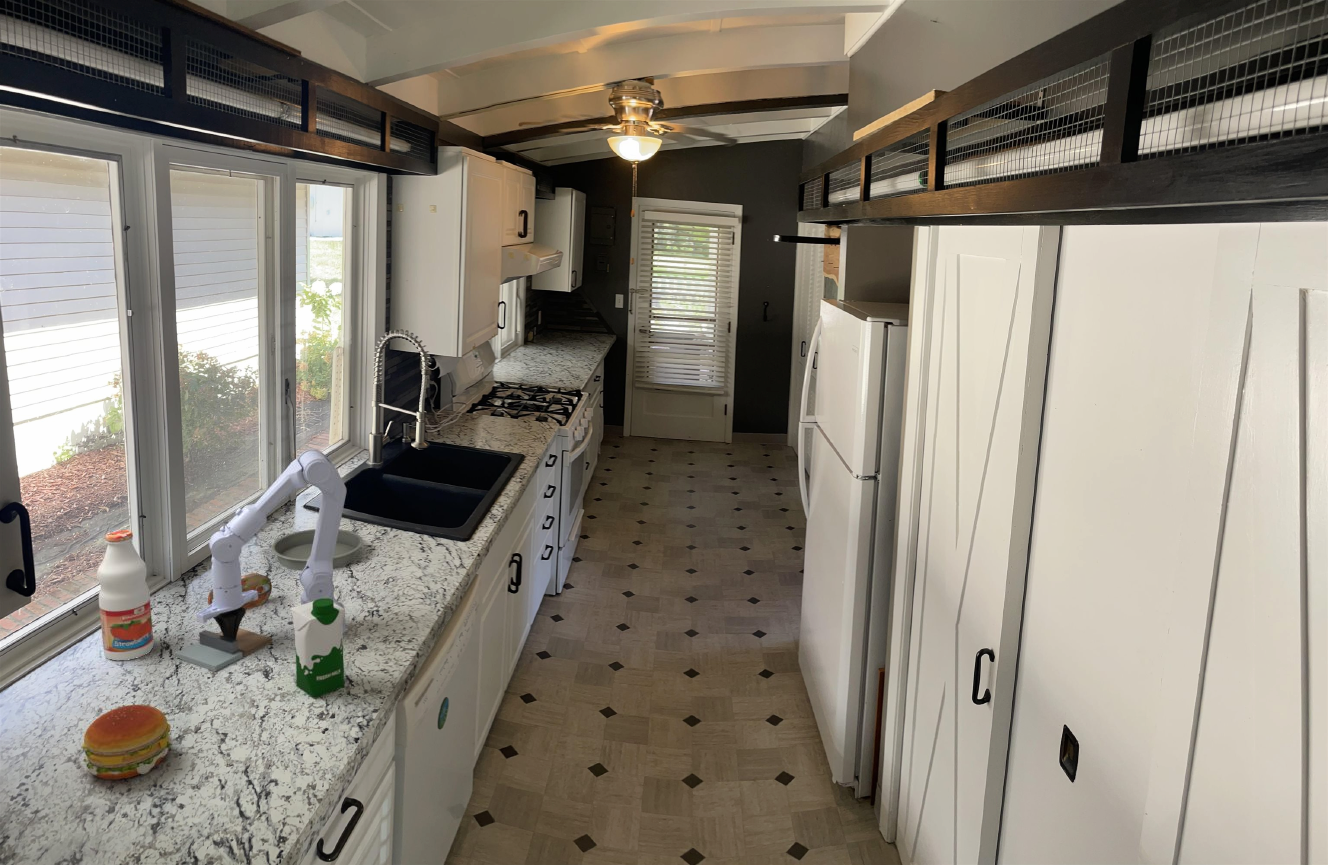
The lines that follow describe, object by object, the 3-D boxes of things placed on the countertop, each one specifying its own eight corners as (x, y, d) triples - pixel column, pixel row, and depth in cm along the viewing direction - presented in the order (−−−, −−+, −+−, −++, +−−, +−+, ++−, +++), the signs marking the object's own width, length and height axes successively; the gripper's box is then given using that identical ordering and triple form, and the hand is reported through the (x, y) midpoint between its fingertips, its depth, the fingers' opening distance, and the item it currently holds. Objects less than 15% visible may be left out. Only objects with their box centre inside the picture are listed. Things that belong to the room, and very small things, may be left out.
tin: (213, 620, 205) (211, 588, 203) (206, 616, 207) (204, 584, 205) (273, 602, 217) (271, 571, 215) (266, 598, 219) (265, 567, 217)
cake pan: (252, 565, 239) (251, 550, 238) (311, 537, 262) (311, 523, 261) (326, 580, 232) (325, 565, 231) (380, 550, 255) (380, 536, 254)
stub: (242, 657, 189) (241, 640, 188) (215, 671, 183) (214, 654, 182) (203, 644, 193) (202, 628, 192) (175, 657, 187) (174, 641, 186)
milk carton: (311, 702, 174) (308, 612, 169) (289, 685, 180) (285, 598, 175) (350, 686, 181) (348, 599, 176) (328, 670, 186) (325, 586, 182)
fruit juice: (138, 637, 195) (128, 522, 188) (163, 649, 190) (153, 532, 184) (95, 654, 187) (83, 534, 180) (119, 666, 182) (107, 544, 176)
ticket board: (272, 642, 197) (272, 637, 196) (243, 657, 189) (243, 652, 189) (234, 630, 201) (233, 625, 201) (204, 644, 194) (204, 639, 193)
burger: (72, 763, 151) (67, 712, 149) (155, 731, 161) (151, 683, 159) (102, 796, 143) (97, 744, 141) (187, 761, 153) (183, 711, 151)
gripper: (241, 569, 198) (243, 622, 201) (185, 591, 184) (189, 648, 188) (263, 575, 195) (266, 629, 198) (208, 598, 182) (212, 656, 185)
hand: (230, 639), depth 193 cm, fingers closed
